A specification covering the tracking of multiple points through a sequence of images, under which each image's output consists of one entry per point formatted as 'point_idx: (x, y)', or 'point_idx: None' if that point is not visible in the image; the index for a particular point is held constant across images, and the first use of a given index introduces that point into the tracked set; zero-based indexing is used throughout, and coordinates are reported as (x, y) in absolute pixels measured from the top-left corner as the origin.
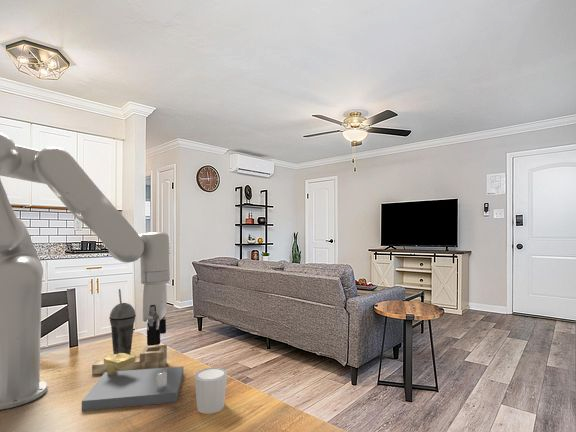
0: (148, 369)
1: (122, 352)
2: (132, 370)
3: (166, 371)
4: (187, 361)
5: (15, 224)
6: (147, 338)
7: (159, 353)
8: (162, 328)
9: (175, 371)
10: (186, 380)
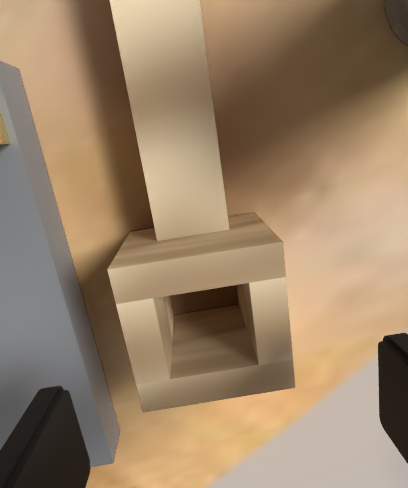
0: (60, 317)
1: (405, 3)
2: (38, 234)
3: None
4: (273, 409)
5: None
6: (11, 439)
7: (137, 386)
8: (406, 441)
9: None
10: None
